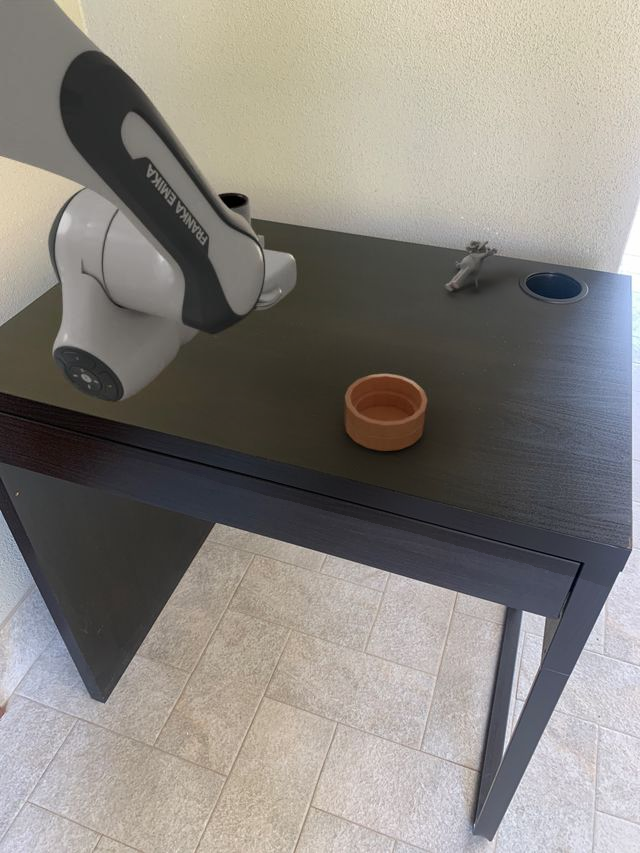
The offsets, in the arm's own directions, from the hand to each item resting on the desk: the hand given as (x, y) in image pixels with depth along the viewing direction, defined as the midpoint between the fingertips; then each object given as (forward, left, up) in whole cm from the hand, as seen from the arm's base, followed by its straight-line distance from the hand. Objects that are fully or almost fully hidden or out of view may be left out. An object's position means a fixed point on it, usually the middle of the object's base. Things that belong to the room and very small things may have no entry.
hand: (235, 236), depth 81 cm
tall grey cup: (-1, 0, -6) cm, 6 cm away
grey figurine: (+35, -14, -17) cm, 41 cm away
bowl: (-1, -23, -17) cm, 29 cm away
